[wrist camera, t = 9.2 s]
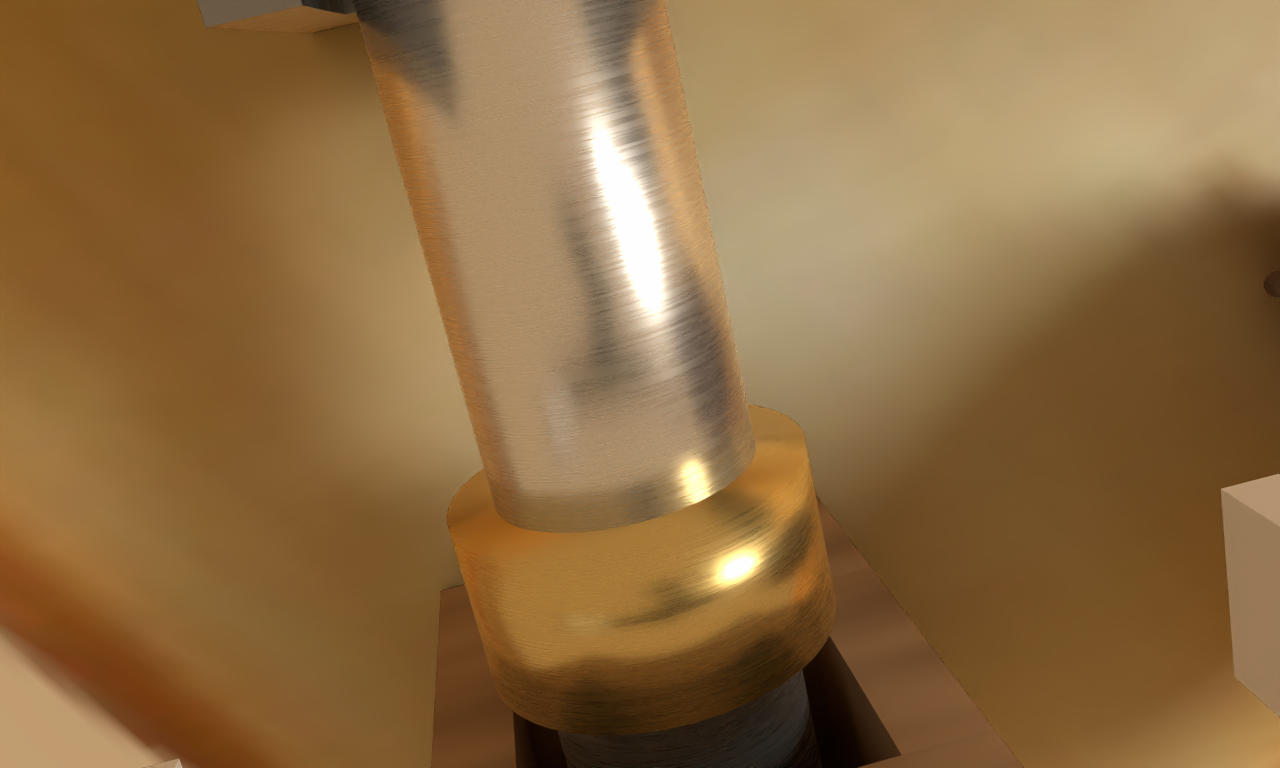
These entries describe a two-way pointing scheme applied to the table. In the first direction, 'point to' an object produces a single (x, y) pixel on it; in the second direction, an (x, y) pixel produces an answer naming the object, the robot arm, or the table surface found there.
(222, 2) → the square shaft housing
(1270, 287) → the alarm clock
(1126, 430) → the table surface
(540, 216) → the tube
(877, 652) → the socket block
